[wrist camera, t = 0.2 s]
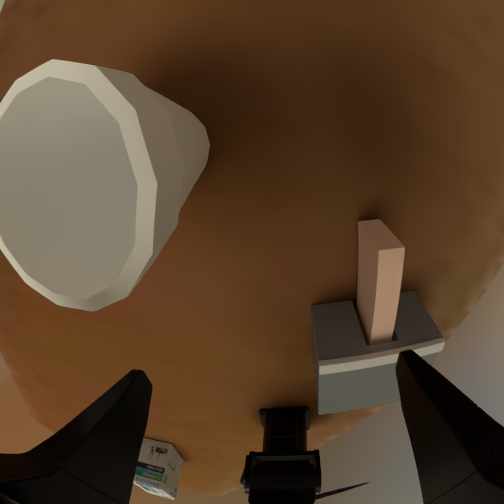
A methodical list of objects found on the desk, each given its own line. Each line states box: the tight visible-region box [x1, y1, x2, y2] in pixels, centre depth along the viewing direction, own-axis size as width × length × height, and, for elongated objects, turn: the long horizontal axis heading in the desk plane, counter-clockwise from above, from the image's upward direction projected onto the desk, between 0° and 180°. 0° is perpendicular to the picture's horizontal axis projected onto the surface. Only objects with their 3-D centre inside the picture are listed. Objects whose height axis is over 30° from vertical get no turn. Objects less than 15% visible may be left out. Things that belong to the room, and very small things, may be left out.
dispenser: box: [311, 290, 445, 415], centre depth 22 cm, size 8×10×7 cm
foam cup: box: [0, 59, 210, 312], centre depth 13 cm, size 10×9×13 cm
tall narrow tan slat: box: [356, 219, 405, 346], centre depth 20 cm, size 10×2×5 cm, turn 10°
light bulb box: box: [133, 438, 184, 500], centre depth 39 cm, size 11×7×11 cm, turn 2°
